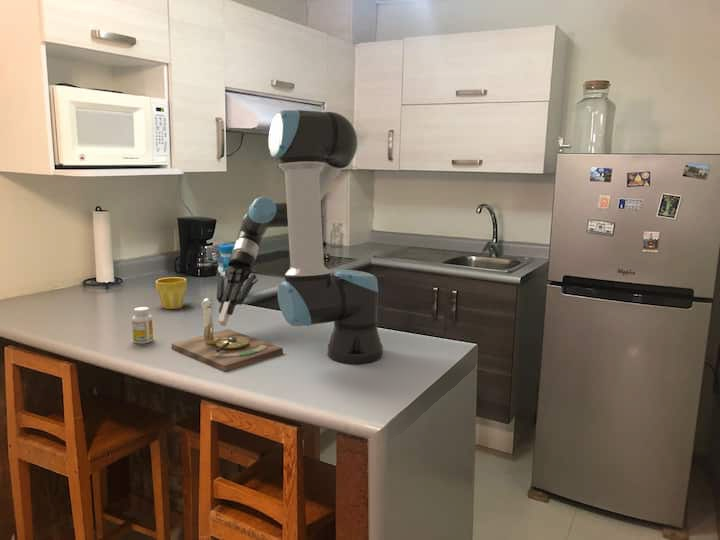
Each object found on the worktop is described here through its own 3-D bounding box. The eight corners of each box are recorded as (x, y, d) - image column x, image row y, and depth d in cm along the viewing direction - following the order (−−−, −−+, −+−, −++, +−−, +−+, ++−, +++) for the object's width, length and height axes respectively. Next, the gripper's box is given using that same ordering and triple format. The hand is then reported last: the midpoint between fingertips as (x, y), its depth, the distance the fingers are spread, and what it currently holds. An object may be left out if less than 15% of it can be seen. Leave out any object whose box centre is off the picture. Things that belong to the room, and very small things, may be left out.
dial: (256, 344, 161) (255, 300, 159) (217, 356, 152) (215, 309, 149) (229, 334, 170) (228, 292, 167) (190, 345, 160) (188, 300, 158)
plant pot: (157, 304, 209) (155, 277, 207) (187, 302, 212) (186, 276, 210) (156, 311, 199) (155, 283, 197) (188, 309, 202) (187, 282, 200)
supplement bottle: (146, 336, 172) (144, 305, 170) (156, 340, 169) (155, 308, 167) (129, 341, 168) (127, 308, 166) (139, 345, 165) (137, 312, 163)
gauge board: (282, 353, 160) (282, 347, 159) (225, 371, 146) (224, 364, 145) (228, 333, 176) (228, 328, 176) (171, 348, 162) (171, 342, 162)
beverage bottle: (233, 300, 216) (231, 247, 212) (214, 298, 219) (212, 245, 215) (245, 295, 224) (244, 244, 220) (226, 293, 227) (224, 242, 223)
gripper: (266, 264, 182) (247, 331, 169) (227, 262, 184) (205, 328, 172) (260, 250, 176) (239, 318, 163) (220, 248, 178) (196, 315, 166)
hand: (222, 323), depth 167 cm, fingers closed
